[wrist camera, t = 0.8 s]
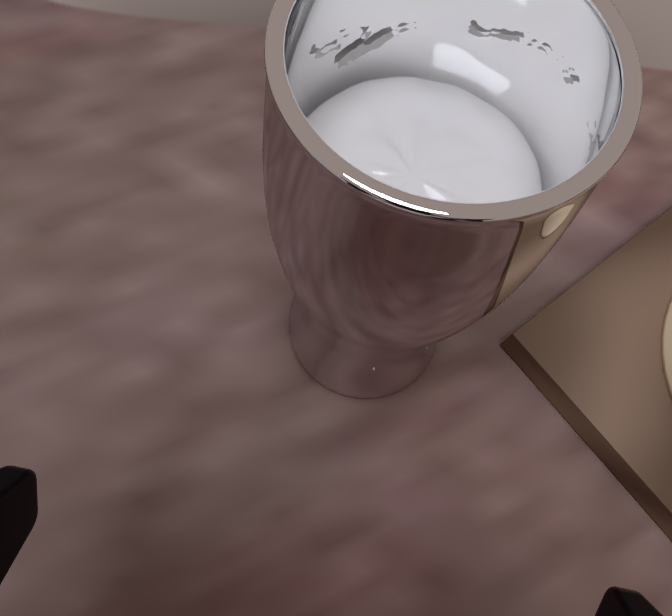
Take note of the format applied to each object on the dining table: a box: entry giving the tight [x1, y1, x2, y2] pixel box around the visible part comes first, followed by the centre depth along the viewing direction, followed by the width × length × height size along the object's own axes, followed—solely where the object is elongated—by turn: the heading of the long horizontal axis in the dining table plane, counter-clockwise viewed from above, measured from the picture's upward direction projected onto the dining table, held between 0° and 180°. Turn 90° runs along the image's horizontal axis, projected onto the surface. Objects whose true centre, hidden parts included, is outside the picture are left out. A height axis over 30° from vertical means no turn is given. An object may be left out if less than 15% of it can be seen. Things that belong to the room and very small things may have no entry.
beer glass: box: [263, 0, 642, 398], centre depth 17 cm, size 7×7×15 cm
